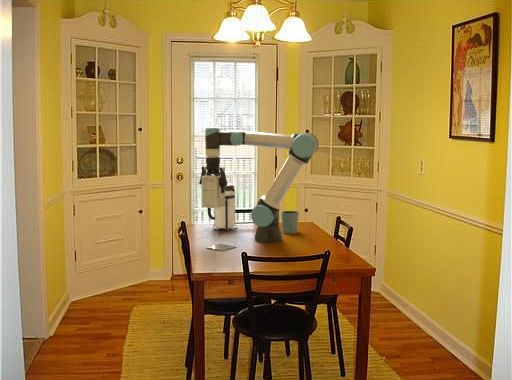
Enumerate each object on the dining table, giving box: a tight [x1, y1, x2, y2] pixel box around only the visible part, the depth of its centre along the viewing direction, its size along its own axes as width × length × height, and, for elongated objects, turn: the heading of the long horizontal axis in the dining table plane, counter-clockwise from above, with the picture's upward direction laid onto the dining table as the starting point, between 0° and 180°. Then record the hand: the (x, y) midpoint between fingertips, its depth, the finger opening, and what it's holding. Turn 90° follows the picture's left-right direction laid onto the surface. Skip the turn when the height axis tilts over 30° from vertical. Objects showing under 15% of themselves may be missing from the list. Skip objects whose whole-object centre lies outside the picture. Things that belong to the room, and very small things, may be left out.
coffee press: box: [207, 183, 238, 232], centre depth 352 cm, size 17×16×30 cm
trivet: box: [206, 243, 237, 252], centre depth 306 cm, size 11×11×1 cm
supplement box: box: [201, 174, 225, 209], centre depth 314 cm, size 10×9×17 cm
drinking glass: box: [280, 210, 300, 235], centre depth 344 cm, size 10×10×12 cm
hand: (213, 198), depth 314 cm, fingers closed on supplement box, 10 cm apart
